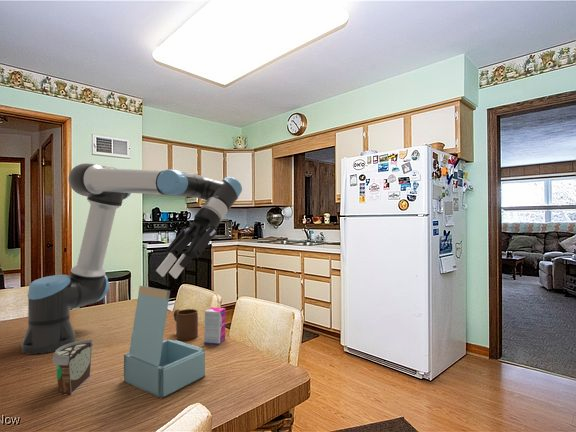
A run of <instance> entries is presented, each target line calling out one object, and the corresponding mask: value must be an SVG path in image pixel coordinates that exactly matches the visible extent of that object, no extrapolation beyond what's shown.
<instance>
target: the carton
mask: <svg viewBox="0 0 576 432" xmlns="http://www.w3.org/2000/svg"><path fill="white" fill-rule="evenodd" d="M205 376H206V350H204V349H203V348H202V347H200V346H197V345H192V344H190V343H187V342H183V341H181V340H178V339H175V340H172V339H169V338H168V339H163V343H162V350H161V357H160V364H159V365H154V364H152V363H149V362H147V361H144V360H142V359H139V358H137V357H134V356H131V355H129V352H128V353H125V354H123V381H124V382H125V383H127V384H129V385H131V386H134V387H136V388H138V389H140V390H142V391H144V392H146V393H149V394H151V395H152V396H155V397H157V398H159V399H162V398H163V399H164V397H167V396H169V395H171V394H172V393H175V392H176V391H178V390H180V389H182V388H184V387H186V386H188V385H190V384H192V383H194V382H195V381H198V380H200V379H201V378H203V377H205Z"/></svg>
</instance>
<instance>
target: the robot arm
mask: <svg viewBox="0 0 576 432" xmlns="http://www.w3.org/2000/svg"><path fill="white" fill-rule="evenodd" d="M68 183H69V186H70V188H71V190H73V191H74V192H75V193H76V194H78V195H81V196H83V197H86V200H87V201H88V202H89V204H90V207H89V210H88V215H87V219H86V223H85V226H84V227H85V228H84V232H83V237H82V241H81V245H80V249H79V254H78V258H77V262H76V265H75V266H72V268H70V272H69V274H54V275H49V276H44V277H41V278H38V279H35V280H33V281H31V282H30V284H29V286H28V293H27V299H28V302H27V303H28V304H27V305H28V307H27V308H28V309H27V310H28V311H27V312H28V315H27V317H28V318H27V319H28V322H27V323H28V324H27V329H26V332H25V334H24V337H23V339H22V342H21V348H20V349H21V350H22V351H21V352H22V353H23V352H24V353H23V354H26V353H29V355H38V354H37V353H41V354H48V353H52V352H55V351H56V350H57V349H58V348H60V347H62V346H64V345H66V344H69V343H73V342H76V333H75V331H74V327H73V325H72V323H71V319H70V315H71V314H70V312H71V311H70V310H73V309H76V308H81V307H84V306H87V305H88V306H89V305H93V304H95V303H97V302H99V301H101V300H103V299H104V298H105V297H106V295H107V294H108V292H109V288H110V282H109V278H108V277H107V276H108V275H106V271H105V270H104V268H103V265H104V262H105V257H106V254H107V249H108V246H109V241H110V236H111V234H112V233H111V231H112V228H113V224H114V220H115V216H116V215H115V214H116V211H117V209H119V208H120V207H122V205H123V200H125V199H127V198H128V197H130V196H131V194H144V195H159V196H162V195H163V196H174V197H175V196H177V197H186V198H195V199H200V200H204V201H205V202H204V204H202V206H201V208H200V209H199V210H198V211H197V212H196V213H195V215H194V217H193V219H194V220H193V223H192V224H191V225H190V226H189V227H186V226H182V228H181V229H180V232H179V233H178V234H177V235H176V237H174V239H173V240H172V241H171V243H170V244H169V245H168V246H167V248H166V249H165V251H166V252H167V253H168V254H167V255H166V256H165V257H164V259H163V261H162V262H161V264H160V265H159V266H158V267H157V268H156V270H155V272H157V274H158V275H160V277H162V278H164V277H165V276H166V274H167V273H169V275H170V276H172V278H174V280H175V279H178V277H179V276H180V275H181V273H182V272H183V270H184V269H185V268H187V265H189V263H190V261H191V260H192V261H193V259H198V258H200V257H201V256H202V253H203V252H204V251H205V249H206V248H207V246H208V245H209V244H210V242H211V241H212V239H213V238H214V237H215V236H217V234H218V232H217V231H216V229H217V228H218V227H219V225H220V223H221V222H222V221H223V219H224V217H225V216H226V215H227V213H229V211H230V209H231V208H232V207H233V205H234V204H235V203H236V201H237V200H238V199H239V196H240V195H241V194H242V191H243V187H242V184H241V182H240V181H239V180H238V179H236V178H235V177H232V176H226V177H224V178H223V179H222V180H221V181H220V180H216V179H212V178H209V177H207V176H202V175H200V174H196V173H189V172H188V173H187V172H185V171H182V170H181V171H180V170H179V169H164V170H161V169H160V170H157V169H156V170H155V169H154V170H153V169H132V168H131V169H130V168H129V169H125V168H116V167H111V166H105V165H99V164H94V163H80V164H77V165H75V166H74V167H73V168H72V169H71V170H70V171H69V174H68ZM186 248H187V249H186ZM185 249H186V250H185ZM183 250H184V251H183ZM182 252H183V253H182ZM181 253H182V254H181ZM180 254H181V256H180V257H179V258H178V255H180ZM174 263H175V264H174ZM47 352H48V353H47Z"/></svg>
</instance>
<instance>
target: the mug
mask: <svg viewBox="0 0 576 432" xmlns="http://www.w3.org/2000/svg"><path fill="white" fill-rule="evenodd" d="M198 317H199V314H198V310H197V309H194V308H192V309H191V308H189V309H188V308H187V309H182V310H181V309H174V311H173V319H174V322H176V323H175V327H176V328H175V329H176V330H175V331H176V332H175V333H176V334H175V335H176V338H177V339H176V340H178V341H191V340H195V339H196V338H197V337H198V335H199V334H198V333H199V331H198V330H199V318H198Z"/></svg>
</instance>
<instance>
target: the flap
mask: <svg viewBox="0 0 576 432" xmlns="http://www.w3.org/2000/svg"><path fill="white" fill-rule="evenodd" d="M138 288H139V289H138V293H137V294H138V295H137V302H136V306H135V307H136V309H135V314H134V319H133V320H134V321H133V326H132V333H131V338H130V346H129V351H128V353H129V355H131V356H134V357H137V358H139V359H142V360H144V361H147V362H149V363H152V364H154V365H159V364H160V357H161V350H162V343H163V341H164V335H165V327H166V323H167V322H166V321H167V315H168V308H169V302H170V296H171V295H170V294H171V290H168V289H161V288H155V287H150V286H145V285H139V287H138Z"/></svg>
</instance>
